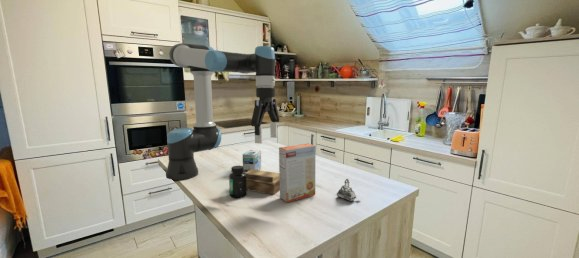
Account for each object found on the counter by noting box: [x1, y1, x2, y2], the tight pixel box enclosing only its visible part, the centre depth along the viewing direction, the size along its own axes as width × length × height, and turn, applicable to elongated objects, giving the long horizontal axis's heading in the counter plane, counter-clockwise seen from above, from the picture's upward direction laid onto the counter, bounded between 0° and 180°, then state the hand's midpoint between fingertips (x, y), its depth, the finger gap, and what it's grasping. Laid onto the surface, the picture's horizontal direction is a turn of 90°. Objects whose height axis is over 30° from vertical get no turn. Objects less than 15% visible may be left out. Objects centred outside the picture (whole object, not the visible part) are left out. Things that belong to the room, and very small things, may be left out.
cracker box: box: [278, 143, 316, 203], centre depth 107 cm, size 14×6×21 cm, turn 122°
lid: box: [245, 169, 280, 185], centre depth 119 cm, size 18×12×3 cm, turn 66°
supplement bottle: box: [228, 165, 248, 199], centre depth 109 cm, size 7×7×12 cm
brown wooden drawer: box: [247, 180, 280, 195], centre depth 119 cm, size 18×12×4 cm, turn 66°
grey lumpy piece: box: [336, 178, 361, 202], centre depth 109 cm, size 9×9×8 cm
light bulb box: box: [241, 149, 262, 173], centre depth 139 cm, size 11×7×11 cm, turn 168°
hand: (266, 140), depth 109 cm, fingers open, 13 cm apart
